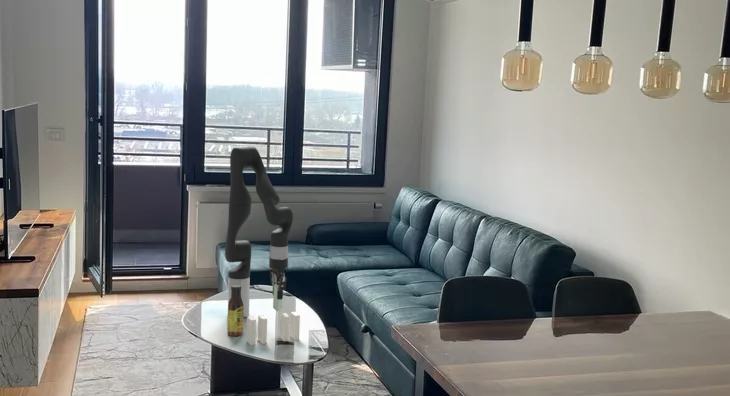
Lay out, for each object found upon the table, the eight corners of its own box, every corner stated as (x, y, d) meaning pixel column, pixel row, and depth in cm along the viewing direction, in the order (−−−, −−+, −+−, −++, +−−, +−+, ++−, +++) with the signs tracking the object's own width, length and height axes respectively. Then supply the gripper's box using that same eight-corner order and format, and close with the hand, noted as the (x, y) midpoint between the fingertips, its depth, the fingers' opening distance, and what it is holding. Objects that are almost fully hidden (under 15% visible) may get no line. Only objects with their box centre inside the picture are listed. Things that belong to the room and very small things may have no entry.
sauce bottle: (239, 337, 275) (240, 288, 272) (224, 335, 276) (225, 287, 274) (245, 332, 281) (246, 284, 279) (231, 330, 283) (231, 283, 280)
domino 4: (279, 337, 277) (280, 313, 276) (284, 336, 278) (285, 312, 277) (283, 341, 273) (284, 316, 271) (288, 340, 273) (289, 316, 272)
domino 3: (273, 307, 283) (273, 284, 282) (277, 307, 284) (278, 283, 283) (277, 311, 279) (277, 287, 277) (281, 311, 280) (282, 287, 278)
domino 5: (290, 336, 279) (290, 312, 278) (294, 335, 280) (295, 311, 279) (294, 340, 275) (295, 315, 273) (299, 339, 275) (299, 315, 274)
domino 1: (246, 341, 271) (247, 316, 270) (251, 340, 272) (252, 316, 271) (250, 345, 267) (250, 320, 265) (255, 344, 268) (255, 319, 266)
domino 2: (257, 339, 273) (258, 315, 272) (262, 339, 274) (263, 314, 273) (261, 344, 269) (262, 319, 267) (266, 343, 270) (267, 318, 268)
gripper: (264, 252, 283) (263, 293, 285) (275, 261, 270) (274, 303, 273) (281, 251, 286) (280, 291, 289) (293, 259, 273) (292, 301, 276)
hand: (277, 296), depth 281 cm, fingers closed on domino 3, 5 cm apart
